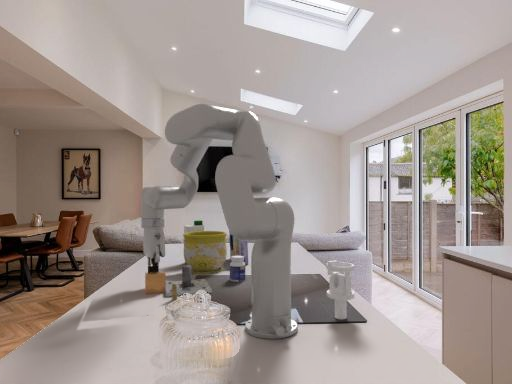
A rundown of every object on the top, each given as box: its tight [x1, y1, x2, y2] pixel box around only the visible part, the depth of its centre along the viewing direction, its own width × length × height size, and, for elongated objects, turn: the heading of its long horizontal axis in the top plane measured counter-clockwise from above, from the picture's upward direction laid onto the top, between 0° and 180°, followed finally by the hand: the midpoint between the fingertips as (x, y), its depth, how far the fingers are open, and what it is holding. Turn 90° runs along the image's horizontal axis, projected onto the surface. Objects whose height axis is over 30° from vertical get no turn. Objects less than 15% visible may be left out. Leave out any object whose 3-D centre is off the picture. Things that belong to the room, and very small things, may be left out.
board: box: [171, 264, 192, 301], centre depth 118 cm, size 26×26×9 cm
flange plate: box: [144, 271, 213, 298], centre depth 117 cm, size 20×14×6 cm
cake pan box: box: [228, 230, 249, 265], centre depth 174 cm, size 19×5×18 cm, turn 17°
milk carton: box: [183, 220, 205, 264], centre depth 170 cm, size 9×9×20 cm
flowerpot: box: [182, 230, 228, 275], centre depth 150 cm, size 18×18×16 cm
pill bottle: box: [229, 256, 246, 283], centre depth 130 cm, size 6×6×10 cm
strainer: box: [326, 259, 355, 320], centre depth 94 cm, size 7×7×15 cm
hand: (153, 277), depth 122 cm, fingers closed
